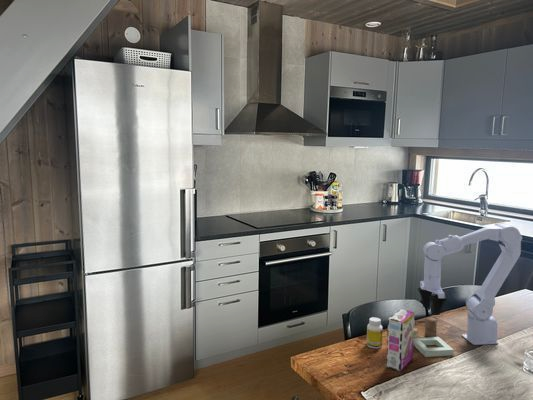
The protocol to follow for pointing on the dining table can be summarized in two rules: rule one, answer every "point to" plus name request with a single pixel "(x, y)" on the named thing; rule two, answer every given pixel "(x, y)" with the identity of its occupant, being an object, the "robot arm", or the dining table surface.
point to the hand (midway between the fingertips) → (431, 310)
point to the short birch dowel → (415, 333)
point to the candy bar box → (400, 339)
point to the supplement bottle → (374, 333)
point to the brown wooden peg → (430, 327)
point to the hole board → (429, 352)
